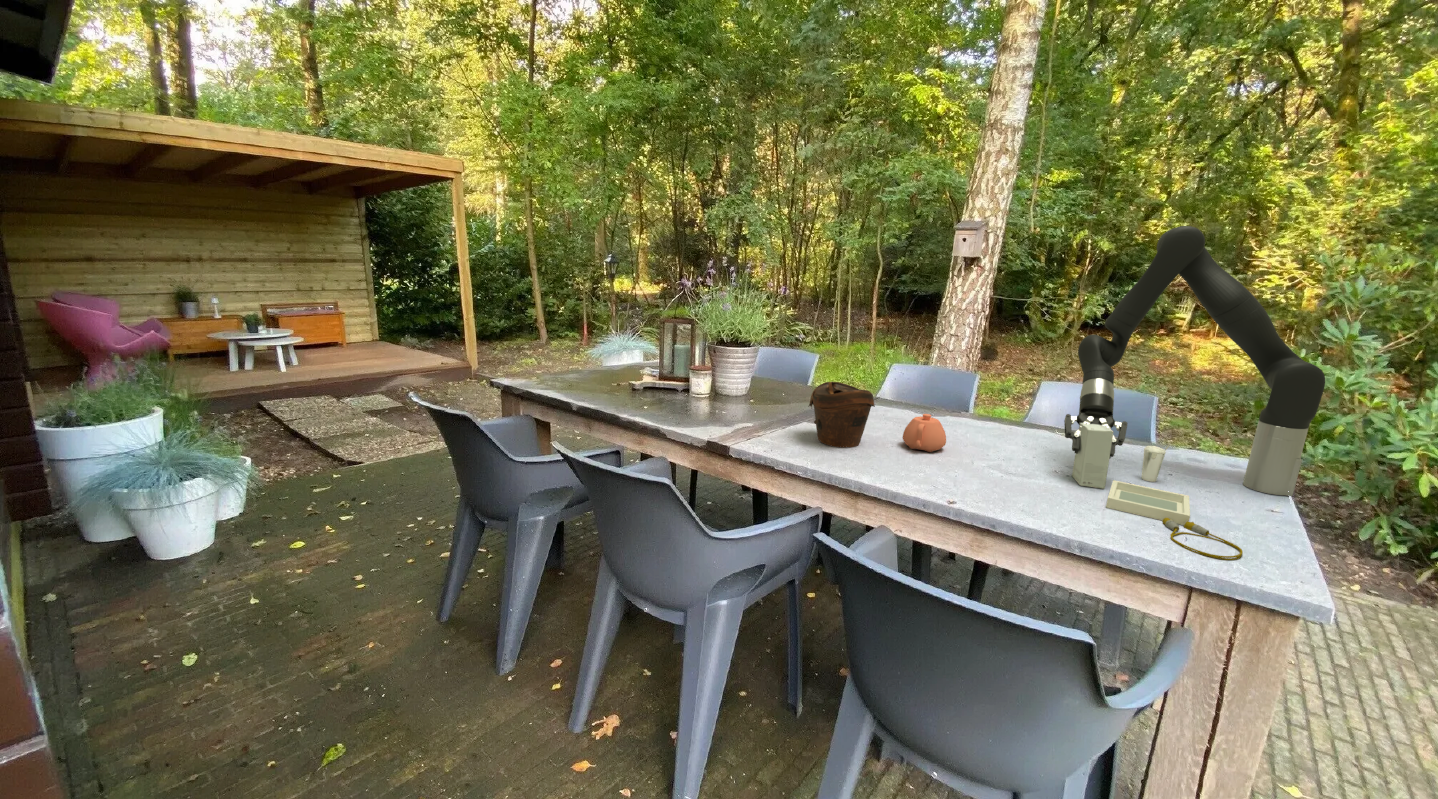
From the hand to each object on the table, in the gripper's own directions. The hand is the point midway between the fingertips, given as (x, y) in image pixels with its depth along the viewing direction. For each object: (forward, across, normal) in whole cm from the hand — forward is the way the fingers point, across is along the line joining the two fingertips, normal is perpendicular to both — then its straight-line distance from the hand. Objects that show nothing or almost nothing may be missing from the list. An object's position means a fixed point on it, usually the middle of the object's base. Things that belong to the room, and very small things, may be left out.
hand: (1092, 454), depth 150 cm
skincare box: (+5, 0, +7) cm, 8 cm away
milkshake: (-4, +15, +15) cm, 22 cm away
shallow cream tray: (+12, +11, -1) cm, 17 cm away
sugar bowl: (0, -42, +11) cm, 43 cm away
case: (+5, -65, +6) cm, 66 cm away
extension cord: (+24, +18, -12) cm, 33 cm away
